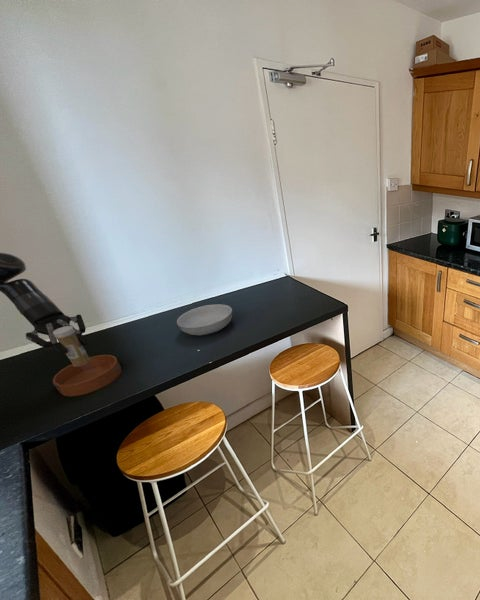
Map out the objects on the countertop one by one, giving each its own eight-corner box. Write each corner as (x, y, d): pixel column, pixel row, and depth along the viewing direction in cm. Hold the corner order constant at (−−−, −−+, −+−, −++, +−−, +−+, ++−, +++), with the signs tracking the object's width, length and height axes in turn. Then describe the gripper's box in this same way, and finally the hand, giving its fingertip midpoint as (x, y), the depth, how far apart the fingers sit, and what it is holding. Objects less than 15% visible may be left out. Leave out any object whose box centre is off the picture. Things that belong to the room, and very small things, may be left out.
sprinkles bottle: (94, 359, 107) (75, 326, 101) (80, 368, 103) (59, 333, 97) (83, 358, 108) (64, 324, 101) (68, 366, 104) (48, 332, 97)
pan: (63, 404, 98) (55, 393, 96) (56, 381, 108) (50, 371, 106) (126, 377, 109) (121, 367, 107) (116, 359, 119) (111, 349, 117)
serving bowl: (245, 323, 141) (241, 310, 138) (198, 347, 125) (193, 333, 122) (218, 312, 151) (214, 299, 147) (172, 332, 135) (166, 319, 131)
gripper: (5, 313, 92) (46, 356, 94) (66, 293, 104) (102, 332, 105) (7, 324, 97) (47, 365, 98) (66, 304, 108) (101, 341, 109)
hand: (75, 348), depth 101 cm, fingers closed on sprinkles bottle, 4 cm apart
